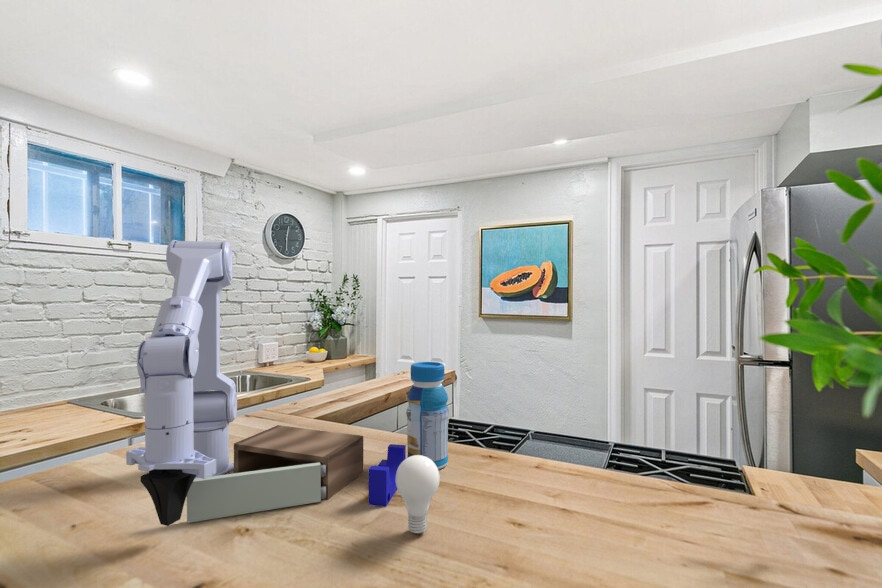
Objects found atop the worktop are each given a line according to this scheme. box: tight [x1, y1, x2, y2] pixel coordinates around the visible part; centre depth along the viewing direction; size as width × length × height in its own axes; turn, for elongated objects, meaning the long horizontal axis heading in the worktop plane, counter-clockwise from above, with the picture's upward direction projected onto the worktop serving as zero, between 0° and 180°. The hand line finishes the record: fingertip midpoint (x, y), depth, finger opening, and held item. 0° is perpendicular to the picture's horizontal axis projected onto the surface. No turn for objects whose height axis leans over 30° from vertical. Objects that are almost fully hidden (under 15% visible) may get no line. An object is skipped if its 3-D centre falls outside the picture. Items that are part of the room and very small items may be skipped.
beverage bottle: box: [405, 361, 450, 470], centre depth 90 cm, size 8×8×20 cm
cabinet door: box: [186, 462, 326, 524], centre depth 71 cm, size 20×1×6 cm, turn 110°
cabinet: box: [233, 424, 365, 500], centre depth 84 cm, size 20×12×7 cm, turn 70°
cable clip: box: [368, 443, 407, 507], centre depth 79 cm, size 12×4×6 cm, turn 170°
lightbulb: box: [395, 455, 441, 535], centre depth 65 cm, size 6×6×11 cm
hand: (170, 521), depth 62 cm, fingers closed
